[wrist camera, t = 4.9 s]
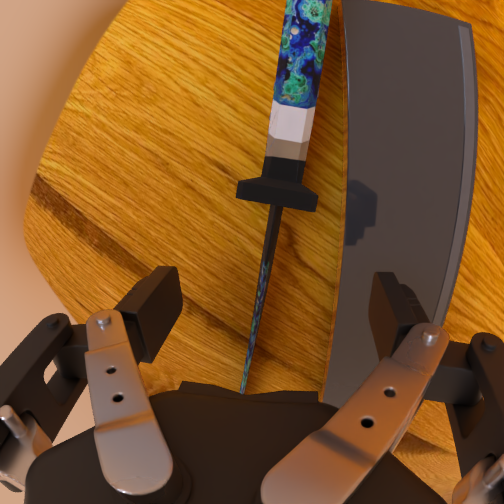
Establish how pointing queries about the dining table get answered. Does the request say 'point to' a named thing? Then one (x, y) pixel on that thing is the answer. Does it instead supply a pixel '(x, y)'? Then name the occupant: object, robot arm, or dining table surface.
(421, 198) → the slate board
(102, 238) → the dining table surface
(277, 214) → the knife
